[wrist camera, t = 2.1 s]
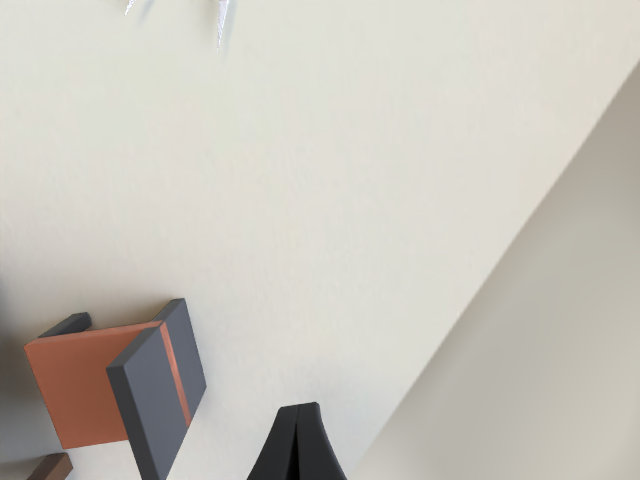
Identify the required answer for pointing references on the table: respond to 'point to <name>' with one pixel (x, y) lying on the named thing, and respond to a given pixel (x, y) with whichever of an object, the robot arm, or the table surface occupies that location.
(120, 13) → the table surface
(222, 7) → the scissors
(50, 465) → the desk
